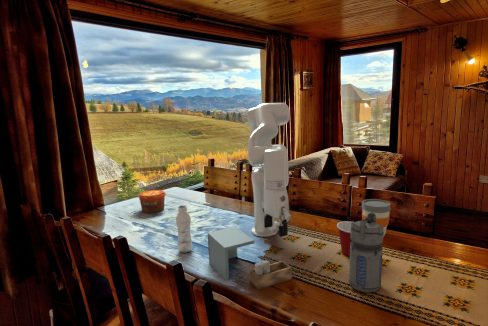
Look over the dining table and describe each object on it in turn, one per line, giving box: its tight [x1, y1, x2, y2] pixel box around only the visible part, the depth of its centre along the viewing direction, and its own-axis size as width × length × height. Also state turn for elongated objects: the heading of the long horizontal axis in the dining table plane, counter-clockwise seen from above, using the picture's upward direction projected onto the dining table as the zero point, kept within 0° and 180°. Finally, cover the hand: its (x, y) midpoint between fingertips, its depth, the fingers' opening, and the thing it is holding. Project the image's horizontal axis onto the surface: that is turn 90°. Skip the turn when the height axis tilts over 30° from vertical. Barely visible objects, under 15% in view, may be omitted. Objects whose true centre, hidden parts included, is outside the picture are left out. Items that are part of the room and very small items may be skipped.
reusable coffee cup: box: [361, 198, 392, 237], centre depth 155 cm, size 12×13×15 cm
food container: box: [137, 189, 167, 214], centre depth 200 cm, size 16×16×11 cm
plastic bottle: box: [175, 205, 193, 254], centre depth 142 cm, size 6×7×20 cm
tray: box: [249, 260, 293, 291], centre depth 118 cm, size 14×6×7 cm, turn 118°
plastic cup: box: [336, 220, 355, 257], centre depth 136 cm, size 11×11×12 cm
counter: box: [207, 226, 255, 282], centre depth 128 cm, size 12×16×13 cm
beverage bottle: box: [348, 213, 385, 293], centre depth 111 cm, size 10×13×25 cm
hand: (275, 231), depth 118 cm, fingers open, 9 cm apart
